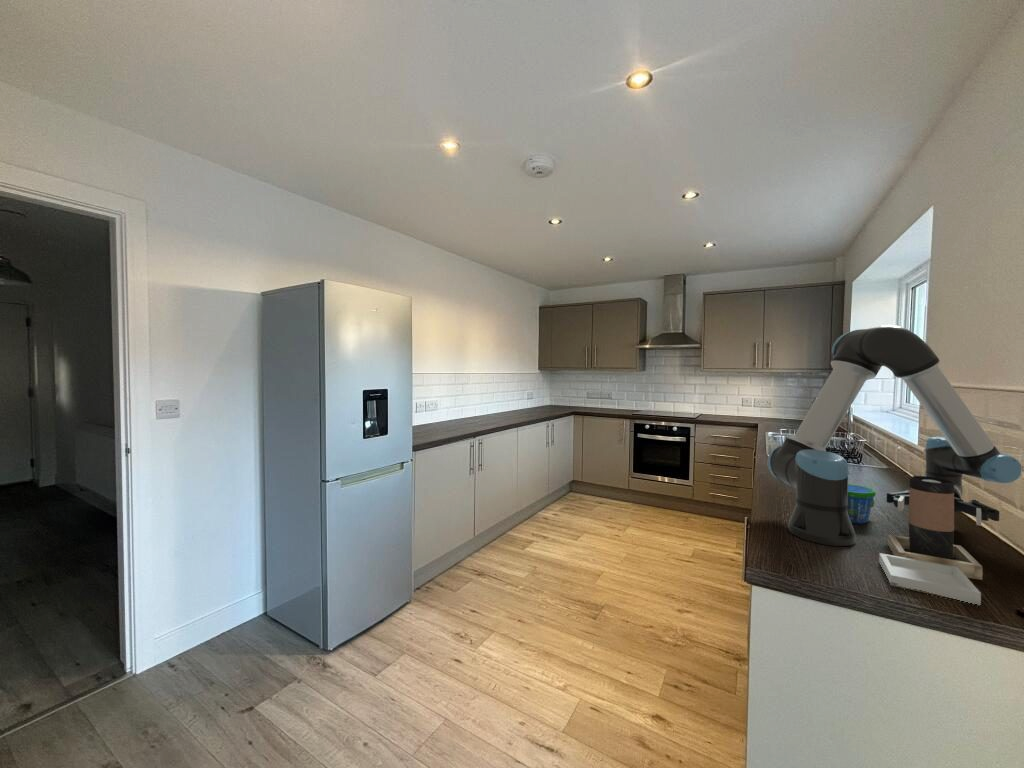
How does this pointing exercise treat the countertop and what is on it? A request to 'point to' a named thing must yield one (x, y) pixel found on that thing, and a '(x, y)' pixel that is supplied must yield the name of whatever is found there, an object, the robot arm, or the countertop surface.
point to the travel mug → (931, 516)
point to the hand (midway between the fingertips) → (937, 512)
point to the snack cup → (860, 503)
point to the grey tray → (929, 578)
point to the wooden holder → (963, 557)
